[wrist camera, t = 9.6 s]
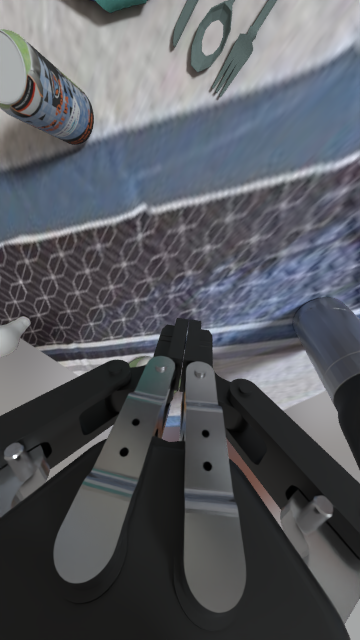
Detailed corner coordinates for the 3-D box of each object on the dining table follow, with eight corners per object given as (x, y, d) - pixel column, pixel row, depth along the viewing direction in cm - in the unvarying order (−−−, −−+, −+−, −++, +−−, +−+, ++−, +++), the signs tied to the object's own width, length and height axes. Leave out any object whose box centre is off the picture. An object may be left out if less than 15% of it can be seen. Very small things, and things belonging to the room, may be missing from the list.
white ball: (165, 366, 54) (162, 356, 49) (157, 388, 51) (152, 380, 46) (144, 360, 55) (139, 350, 50) (134, 381, 52) (128, 372, 48)
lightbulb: (19, 302, 48) (-27, 332, 39) (45, 319, 50) (7, 352, 41) (10, 319, 51) (-34, 350, 42) (35, 334, 53) (-2, 368, 44)
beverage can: (77, 155, 33) (17, 147, 23) (36, 97, 30) (-52, 59, 20) (108, 124, 30) (57, 100, 20) (68, 58, 27) (-15, -9, 17)
